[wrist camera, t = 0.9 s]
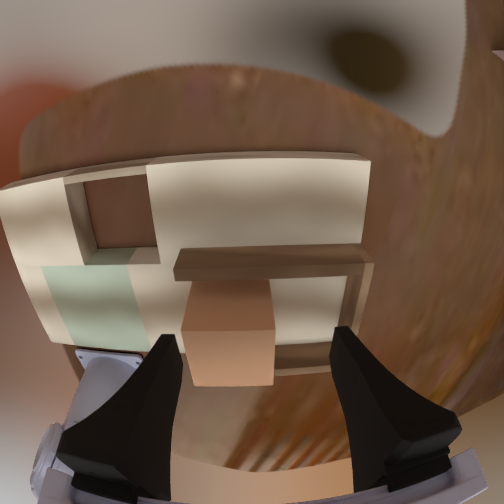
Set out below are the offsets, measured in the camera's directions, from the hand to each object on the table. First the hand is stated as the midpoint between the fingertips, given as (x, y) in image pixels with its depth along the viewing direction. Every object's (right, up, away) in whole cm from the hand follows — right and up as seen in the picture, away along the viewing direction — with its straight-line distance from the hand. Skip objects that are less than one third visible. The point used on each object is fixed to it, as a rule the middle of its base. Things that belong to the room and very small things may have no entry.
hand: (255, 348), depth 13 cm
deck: (-6, +4, +9) cm, 11 cm away
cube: (-1, 0, +8) cm, 8 cm away
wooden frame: (+1, 0, +8) cm, 8 cm away
